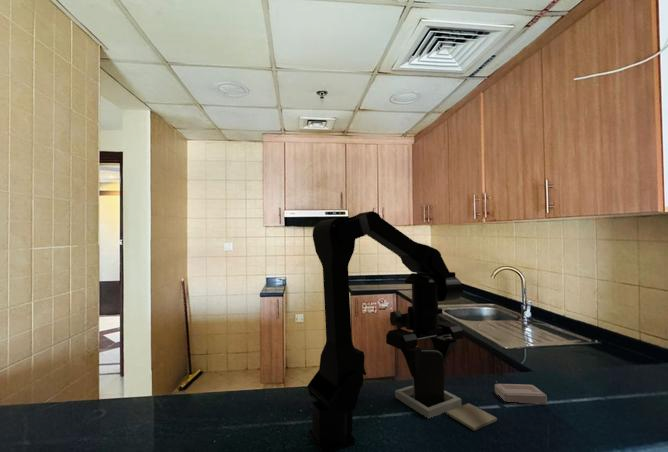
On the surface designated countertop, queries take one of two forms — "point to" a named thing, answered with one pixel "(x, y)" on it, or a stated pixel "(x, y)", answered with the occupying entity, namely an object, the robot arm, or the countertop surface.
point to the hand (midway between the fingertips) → (426, 373)
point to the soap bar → (520, 393)
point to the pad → (471, 416)
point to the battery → (429, 378)
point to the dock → (428, 412)
